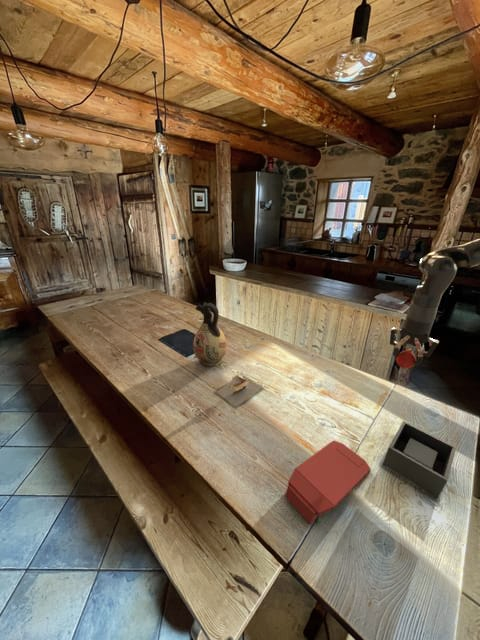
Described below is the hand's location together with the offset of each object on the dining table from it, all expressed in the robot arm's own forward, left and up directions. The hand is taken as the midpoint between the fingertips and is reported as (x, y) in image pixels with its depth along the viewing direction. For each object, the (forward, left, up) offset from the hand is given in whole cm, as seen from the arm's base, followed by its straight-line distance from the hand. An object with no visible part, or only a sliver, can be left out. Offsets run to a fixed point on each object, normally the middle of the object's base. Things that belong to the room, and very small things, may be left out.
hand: (405, 360), depth 93 cm
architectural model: (+37, -46, -19) cm, 61 cm away
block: (+24, +13, -18) cm, 33 cm away
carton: (+45, -3, -19) cm, 49 cm away
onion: (0, 0, -4) cm, 4 cm away
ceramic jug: (+32, -69, -19) cm, 78 cm away
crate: (+23, +13, -19) cm, 33 cm away
